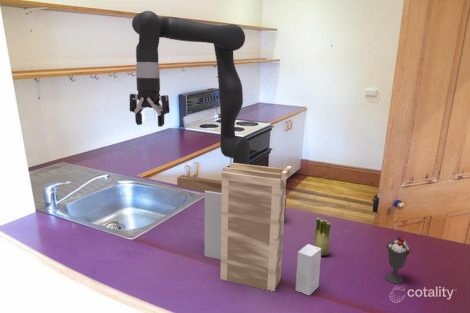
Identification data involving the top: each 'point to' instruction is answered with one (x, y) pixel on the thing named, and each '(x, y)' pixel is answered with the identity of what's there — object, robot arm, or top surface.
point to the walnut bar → (199, 183)
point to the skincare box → (308, 269)
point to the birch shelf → (252, 224)
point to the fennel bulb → (322, 236)
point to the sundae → (397, 258)
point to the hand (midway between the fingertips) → (149, 125)
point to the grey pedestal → (213, 224)
